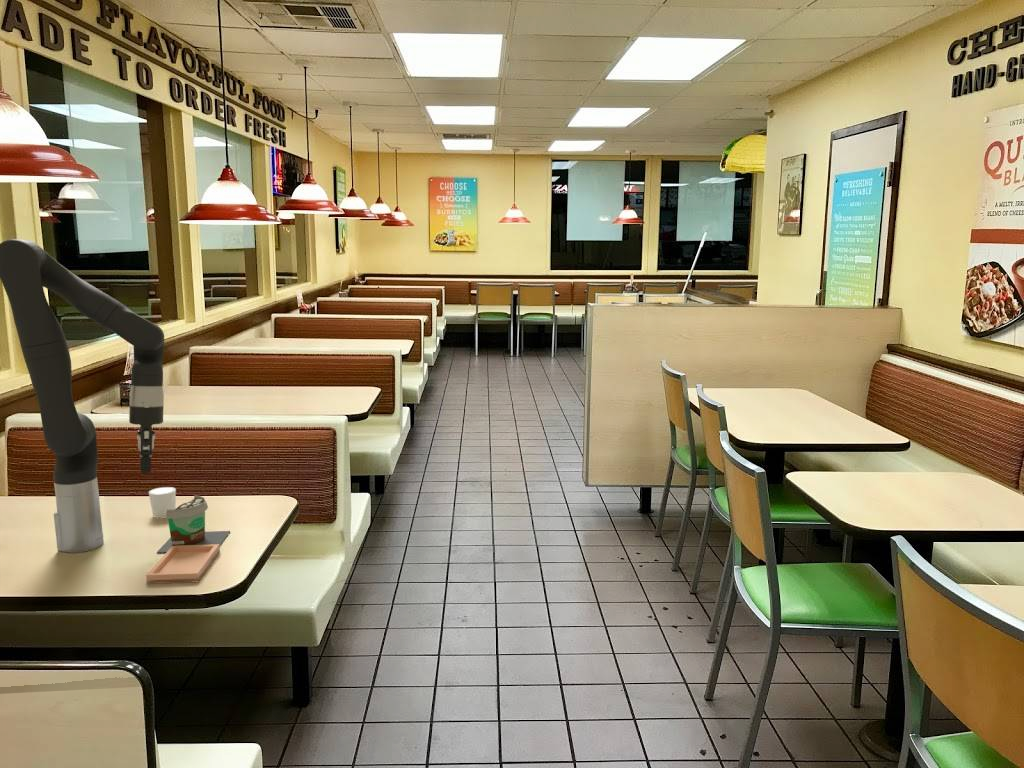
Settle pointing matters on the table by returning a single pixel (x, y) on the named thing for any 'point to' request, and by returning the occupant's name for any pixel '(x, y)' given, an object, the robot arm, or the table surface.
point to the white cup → (162, 500)
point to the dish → (183, 564)
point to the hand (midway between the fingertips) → (145, 470)
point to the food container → (188, 522)
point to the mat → (210, 538)
